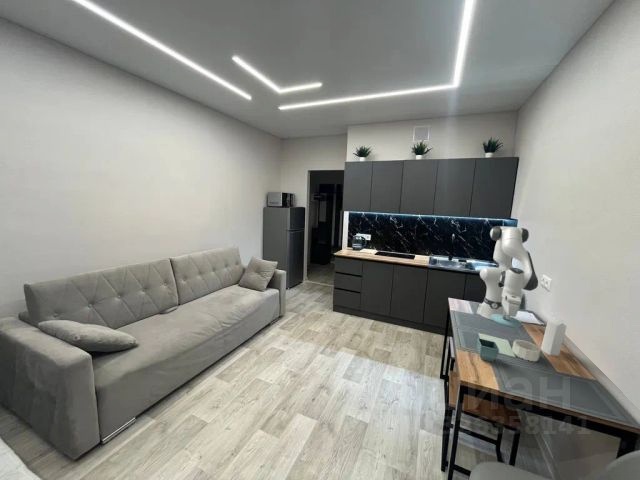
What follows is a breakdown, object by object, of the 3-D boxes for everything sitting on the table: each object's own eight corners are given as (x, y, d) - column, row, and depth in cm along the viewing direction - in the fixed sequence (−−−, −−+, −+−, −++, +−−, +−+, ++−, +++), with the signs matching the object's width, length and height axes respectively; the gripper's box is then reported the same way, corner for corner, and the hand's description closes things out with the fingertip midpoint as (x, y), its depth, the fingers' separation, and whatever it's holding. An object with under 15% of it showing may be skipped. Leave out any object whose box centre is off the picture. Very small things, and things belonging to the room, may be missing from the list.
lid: (489, 313, 164) (490, 305, 163) (517, 319, 158) (519, 311, 157) (492, 323, 151) (494, 314, 150) (524, 330, 144) (526, 321, 143)
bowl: (510, 346, 158) (512, 337, 157) (534, 352, 153) (536, 343, 152) (515, 357, 147) (517, 347, 146) (541, 364, 142) (543, 354, 141)
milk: (549, 349, 158) (558, 316, 154) (559, 355, 152) (568, 321, 148) (540, 349, 157) (548, 315, 154) (549, 355, 151) (558, 320, 148)
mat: (478, 333, 171) (478, 333, 171) (507, 341, 164) (507, 340, 164) (482, 349, 153) (483, 348, 153) (515, 357, 146) (515, 357, 146)
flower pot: (496, 365, 138) (499, 350, 137) (478, 360, 141) (481, 345, 140) (492, 356, 146) (495, 341, 145) (474, 351, 149) (477, 337, 148)
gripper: (501, 289, 162) (497, 309, 164) (508, 300, 144) (503, 322, 146) (513, 291, 159) (509, 312, 162) (522, 302, 141) (517, 326, 143)
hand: (506, 317), depth 154 cm, fingers closed on lid, 3 cm apart
